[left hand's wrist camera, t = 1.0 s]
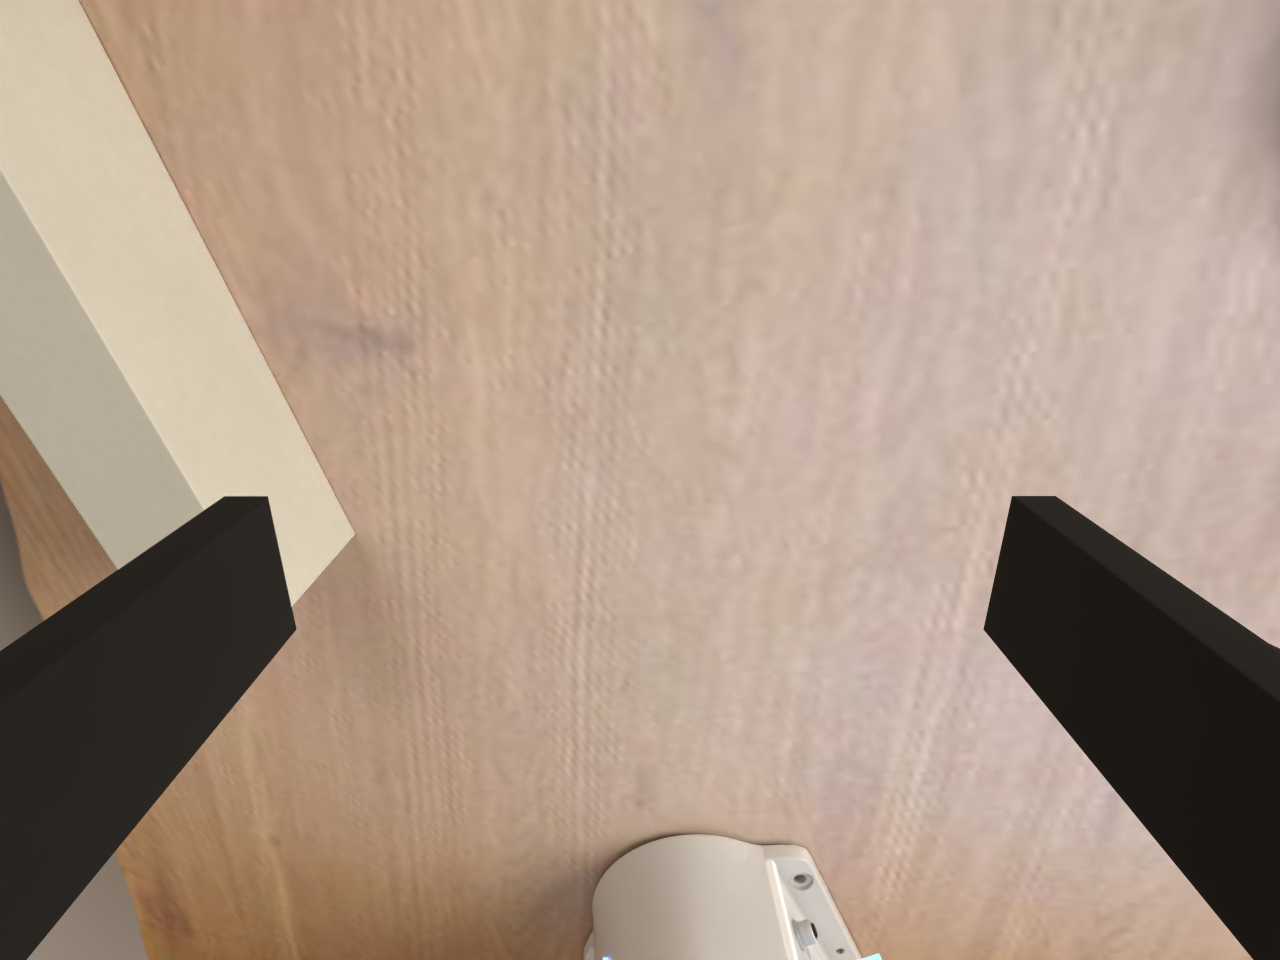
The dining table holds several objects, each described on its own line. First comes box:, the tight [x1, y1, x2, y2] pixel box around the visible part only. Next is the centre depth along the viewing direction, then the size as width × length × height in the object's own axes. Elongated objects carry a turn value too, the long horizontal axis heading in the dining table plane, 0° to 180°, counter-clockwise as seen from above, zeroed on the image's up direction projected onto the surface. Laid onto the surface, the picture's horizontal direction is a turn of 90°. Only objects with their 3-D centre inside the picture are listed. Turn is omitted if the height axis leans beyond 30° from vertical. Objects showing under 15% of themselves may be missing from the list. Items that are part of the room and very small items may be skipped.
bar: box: [0, 0, 355, 607], centre depth 30 cm, size 26×5×9 cm, turn 18°
